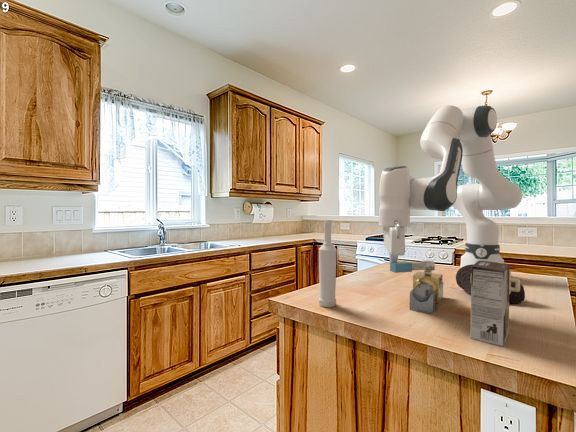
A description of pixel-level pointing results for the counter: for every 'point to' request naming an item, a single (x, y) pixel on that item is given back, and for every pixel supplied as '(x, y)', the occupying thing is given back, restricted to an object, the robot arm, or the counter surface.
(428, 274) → the valve pipe
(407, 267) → the lever
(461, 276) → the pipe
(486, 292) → the coffee box
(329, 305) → the bottle
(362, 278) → the counter surface
